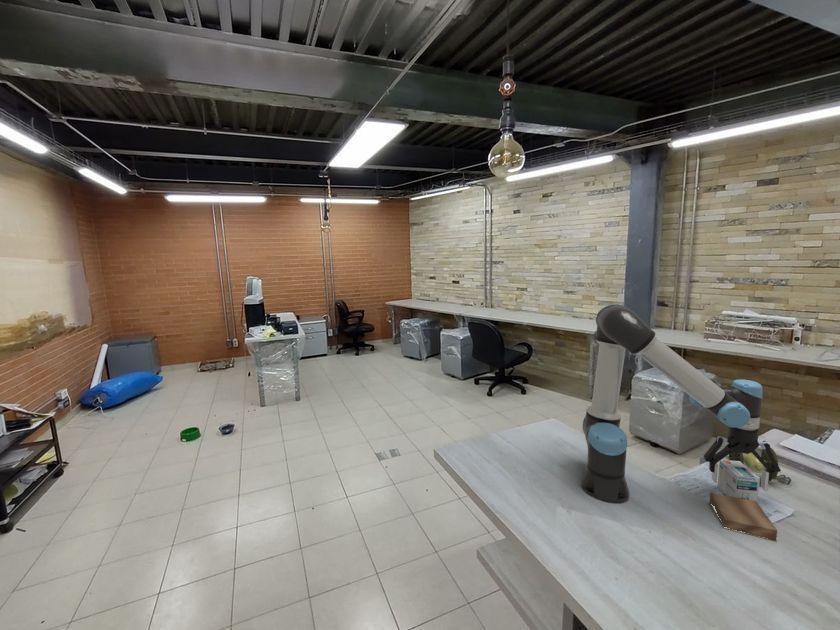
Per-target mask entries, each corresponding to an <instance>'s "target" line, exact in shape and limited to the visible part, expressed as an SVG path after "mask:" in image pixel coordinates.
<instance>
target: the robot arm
mask: <svg viewBox="0 0 840 630" xmlns="http://www.w3.org/2000/svg"><path fill="white" fill-rule="evenodd" d="M595 323H596V332H595V341H596V343H597V344H598V345H599V346H598V352H597V359H596V360H597V361H596V368H595V377H594V383H593V392H592V399H591V405H589V406H588V407H587V408H586V410H585V411H586V412H585V416H584V418H583V419H582V420H583V421H582V432H583V434H584V437H585V441H586V444H587V446H586V447H587V464H586V465H587V466H586V470H585V472H584V474H583V476H582V478H581V482H580V487H581V489H582V490H583V491H584V493H586V494H587V495H588V496H590V497H592V498H593V499H596V500H598V501H601V502H604V503H608V504H614V505H615V504H616V505H617V504H618V505H619V504H621V505H622V504H625V503H628V501H629V500H630V490H629V486H628V484H627V480H626V476H625V475H626V463H627V462H626V461H627V447H628V439H627V438H628V437H627V435H626V432H625V431H624V430H623V429H622V428H621V427H620V426H621V417H622V416H621V414H620V413H619V411H618V404H619V398H620V392H621V384H622V377H623V370H624V363H625V356H626V350H627V351H628V352H629V353H630V354H632V355H635V356H636V355H638V356H639V357H641V359H643V360H644V361H645V362H647V363H648V364H649V365H651V366H652V367H653V368H654V369H656V371H658V372H659V373H661V374H662V375H663V376H665V377H666V378H667V379H669V381H671V382H672V383H673V384H675V385H676V387H678V388H679V389H681V390H682V391H684V393H686V394H687V395H688V399H689V402H690V404H691V405H692V406H694V407H700V408H705V409H706V410H707V411H708V412H709V413H711V414H712V415H713V416H714V417H715V418H717V419H718V420H719V421H720V423H722V424H723V425H725V426H727V427H728V435H727V437H723V436H721V435H719V434H718V435H716V438H715V441H714V442H713V443H712V444H711V445H710V446H709V448H708V450H707V451H706V452H705V453H704V454H703V456H702V457H703V459H704V460H705V461H706V463H707V462H709V463H708V464H709V465H708V470H709V471H710V473H711V479H712V481H713V483H716V484H718V475H719V464H718V462H719V463H720V460H724V458H726V457H727V456H729V454H730V453H733V452H735V451H736V452H737V453H745V454H749V453H751V452H752V454H753V455H754V456H755V457H756V458H757V459H758V460H759V461H760V462H761V463H762V464H763V466H764V467H765V468H766V469H764V468H762V473H761V477H760V487H761V489H762V490H763V491H765V492H768V487H769V486H768V485H769V482H771V481H772V480H773V479H772V474H774V473H775V472H776V471H777V472H778V473H780V472H781V471H782V470H781V468H780V466H779V463H778V464H777V462H776V460H775V458H774V456H773V455H772V453H771V451H770V448H771V444H769V443H768V441H766V440H763V441H758V440H759V433H760V431H759V428H760V424H761V423H760V422H761V421H760V419H761V411H762V403H763V402H762V401H763V392H764V391H763V386H762V384H761V383H759V382H756V381H754V380H748V379H734V380H733V382H732V384H731V385H719V384H716V383H715V382H714V381H712V380H711V379H710V378H709V377H707V376H706V375H704V373H702V372H701V371H700V370H698V369H697V368H695V367H694V366H693V365H692V364H690V363H689V361H687V360H686V359H684V358H683V357H682V356H681V355H679V353H677V352H676V351H674V350H673V349H672V348H670V347H669V346H668V345H666V344H665V342H663V341H661V339H659V338H657V333H656V332H655V331H654V330H652V329H651V328H650V327H649V326H648V325H647V324H646V323H645V322H644V321H643V320H642V318H640V317H639V316H638V315H637V314H636V312H634V311H633V310H631V309H629V308H628V307H627V306H626V305H623V304H618V303H612V304H608V305H605V306H603V307H602V308H601V309H599V311H598V312H597V314H596V317H595ZM725 443H727V444H728V445H727V444H726V445H725ZM722 445H725V446H724V447H723V448H721V447H722ZM731 447H732V448H731ZM759 447H760V448H761V449H762V450H764V452H765V453H766V455H767V457H768V459H769V461H770V463H771V465H772V466H769V465H768V464H767V463H766V462H765V461H764V460H763V459H762V458H761V454H759V453H758V451H756V449H757V448H759ZM720 448H721V450H720ZM730 448H731V449H730Z"/></svg>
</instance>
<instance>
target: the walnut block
mask: <svg viewBox="0 0 840 630" xmlns="http://www.w3.org/2000/svg"><path fill="white" fill-rule="evenodd" d="M709 493H710V494H709V502H708V503H709V505H710V504H712V505H713V506H715V509H716V511H717V514H718V516H719V518H720V519H721V521H722V523H723V525H724V527H727V528H730V529H733V530H737V531H742V532H746V533H749V534H752V535H751V536H753V535H756V536H755V537H757V536H760V537H759V538H761V537H765V538H764V539H766V538H768V539H767V540H770V539H771V540H770V541H774V542H776V541H777V537H778V529H777V528H776V527H775V525H774V524H773V522H772V521H771V520H770V518H769V517H768V516H767V514H766V512H765V511H764V510H763V508H762V506H761V505H759V503H758V502H756V501H752V500H747V499H741V498H736V497H730V496H726V495H725V494H724V495H723V494H718V493H713V492H709ZM723 525H722V526H723ZM724 527H723V528H724ZM733 530H732V531H733ZM737 531H736V532H737ZM749 534H748V535H749Z"/></svg>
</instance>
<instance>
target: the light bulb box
mask: <svg viewBox="0 0 840 630" xmlns="http://www.w3.org/2000/svg"><path fill="white" fill-rule="evenodd" d="M760 484H761V476H759V475H758V474H757V473H756V472H754V471H752V470H751V469H749V468H748V467H747V466H745V465H744V464H742V463H741V462H740V461H730V460H729V459H728V460H727V459H722V460H720V461H719V464H718V475H717V488H718V489H719V490H720V491H721V492H722V493H723V494H724V495H725V496H730V497H736V498H741V499H747V500H752V501H756V502H757V503H758V501H759V500H758V499H759V491H760Z"/></svg>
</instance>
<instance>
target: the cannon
mask: <svg viewBox="0 0 840 630" xmlns="http://www.w3.org/2000/svg"><path fill="white" fill-rule="evenodd" d="M726 445H728V443H727V444H726ZM731 448H732V447H731ZM731 448H730V449H731ZM770 451H771V453H772V455H773V456H774V458H775V460H776V462H777V464H778V465H779V460H778V456H777V453H776V452H775V450H774V449H773V447H770ZM760 456H761V458H762V459H763V460H764V461H765V462H766V463H767V464H768V465H769V466H772V465H771V463H770V461H769V459H768V457H767V455H766V453H765V452H764V450H763V449H762V450H761V453H760ZM728 460H730V461H740V462H741V463H742V464H744V465H745V466H746V467H747V468H748V469H750V470H751V471H752V472H754V473H755V474H762V468H764V469H766V468H765V467H764V466H763V464H762V463H761V462H760V461H759V460H758V459H757V458H756V457H755V456H754V455H753V454H752V452H751V453H749V454H745V453H737V452H736V451H735V452H733V453H730V454H729V455H728ZM778 473H779V472H777V471H776V472H775V473H774V474H772V480H773V479H776V478H777V477H778V475H779V474H778Z"/></svg>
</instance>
